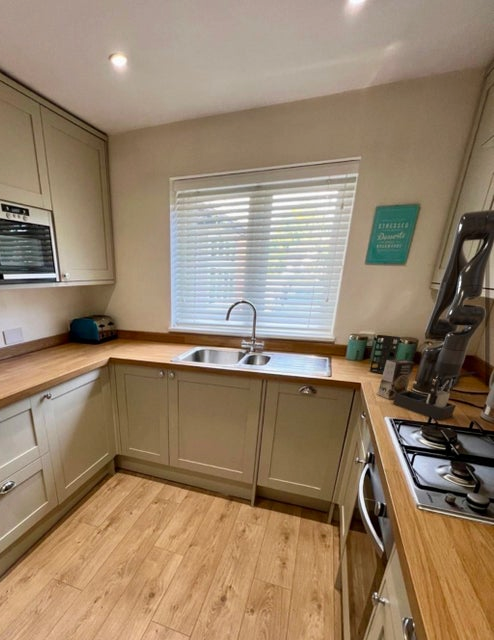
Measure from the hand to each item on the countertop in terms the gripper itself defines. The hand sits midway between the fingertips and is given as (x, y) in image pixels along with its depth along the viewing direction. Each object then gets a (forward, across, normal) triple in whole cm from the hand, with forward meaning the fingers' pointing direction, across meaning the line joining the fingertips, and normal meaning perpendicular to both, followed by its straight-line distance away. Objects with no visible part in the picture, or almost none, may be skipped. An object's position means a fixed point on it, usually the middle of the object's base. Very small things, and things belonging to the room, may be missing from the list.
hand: (436, 402), depth 128 cm
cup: (+4, 0, 0) cm, 4 cm away
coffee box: (+5, +4, +19) cm, 20 cm away
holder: (+5, +36, +45) cm, 58 cm away
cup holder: (+5, 0, +4) cm, 6 cm away
